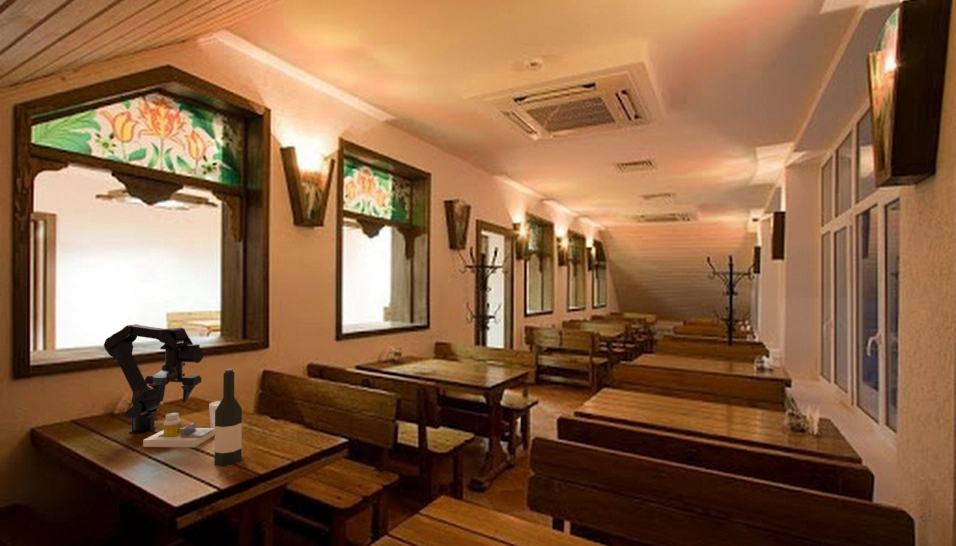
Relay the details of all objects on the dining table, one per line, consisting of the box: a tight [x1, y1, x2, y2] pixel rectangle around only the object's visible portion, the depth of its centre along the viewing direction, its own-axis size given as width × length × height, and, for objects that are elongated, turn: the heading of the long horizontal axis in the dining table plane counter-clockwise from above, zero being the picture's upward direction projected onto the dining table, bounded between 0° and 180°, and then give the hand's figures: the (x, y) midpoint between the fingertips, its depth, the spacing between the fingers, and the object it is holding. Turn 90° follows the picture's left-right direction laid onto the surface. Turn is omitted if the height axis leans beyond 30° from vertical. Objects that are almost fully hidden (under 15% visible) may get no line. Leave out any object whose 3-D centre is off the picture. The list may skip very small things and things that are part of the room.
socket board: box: [142, 427, 215, 448], centre depth 174 cm, size 18×13×2 cm
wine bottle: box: [214, 368, 243, 467], centre depth 156 cm, size 8×8×30 cm
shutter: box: [180, 421, 213, 438], centre depth 174 cm, size 8×8×3 cm
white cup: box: [208, 400, 222, 428], centre depth 188 cm, size 8×8×10 cm
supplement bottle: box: [163, 412, 182, 437], centre depth 174 cm, size 5×5×10 cm
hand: (172, 402), depth 182 cm, fingers open, 9 cm apart
